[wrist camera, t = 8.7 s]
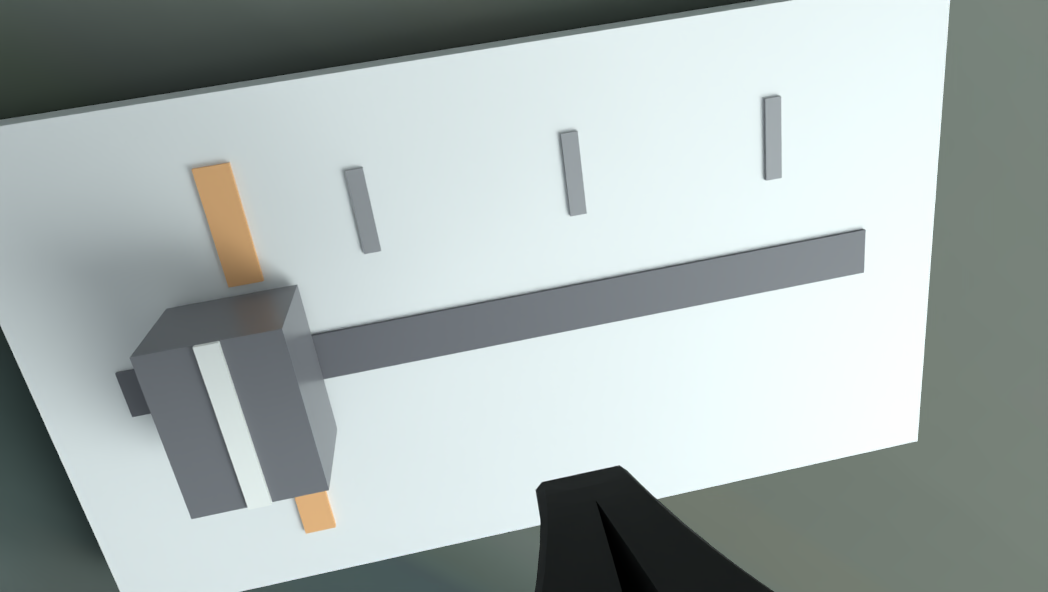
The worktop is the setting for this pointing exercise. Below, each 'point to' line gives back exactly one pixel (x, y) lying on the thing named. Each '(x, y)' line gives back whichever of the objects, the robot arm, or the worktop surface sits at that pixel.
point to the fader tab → (239, 400)
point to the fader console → (495, 271)
